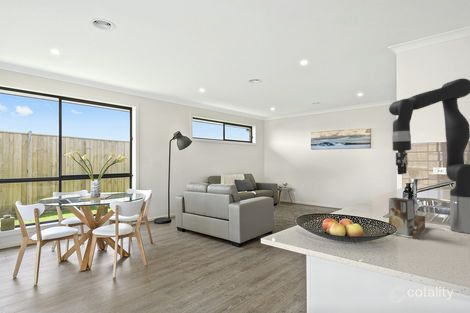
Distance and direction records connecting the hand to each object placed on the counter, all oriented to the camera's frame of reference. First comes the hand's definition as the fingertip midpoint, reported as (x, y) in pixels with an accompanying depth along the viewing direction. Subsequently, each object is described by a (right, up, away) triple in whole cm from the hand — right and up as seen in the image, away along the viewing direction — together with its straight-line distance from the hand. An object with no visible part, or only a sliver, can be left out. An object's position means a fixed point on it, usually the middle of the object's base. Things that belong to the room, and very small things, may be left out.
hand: (402, 174), depth 124 cm
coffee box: (-2, -28, -2) cm, 28 cm away
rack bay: (+3, -28, +3) cm, 29 cm away
